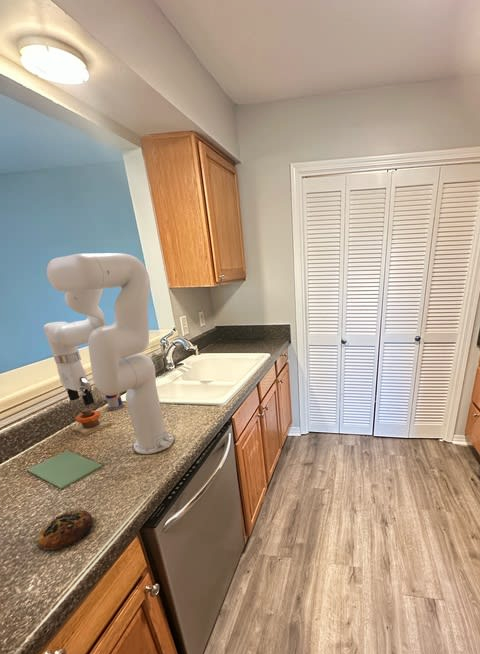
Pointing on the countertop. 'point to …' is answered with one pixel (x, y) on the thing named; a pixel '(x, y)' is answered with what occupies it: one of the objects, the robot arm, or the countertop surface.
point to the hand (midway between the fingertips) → (82, 401)
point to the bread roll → (65, 529)
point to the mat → (64, 469)
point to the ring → (83, 420)
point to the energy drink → (114, 401)
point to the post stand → (90, 424)
